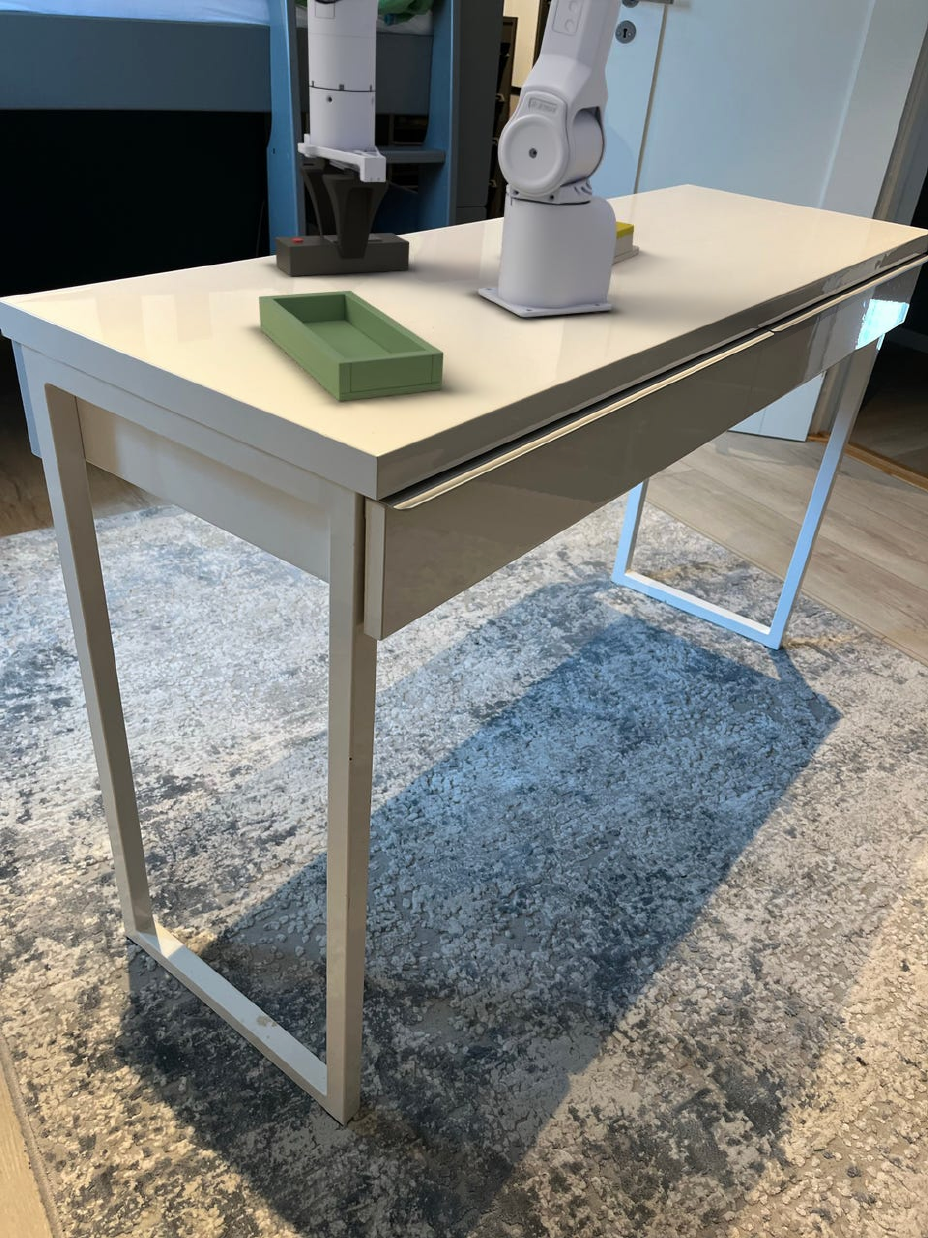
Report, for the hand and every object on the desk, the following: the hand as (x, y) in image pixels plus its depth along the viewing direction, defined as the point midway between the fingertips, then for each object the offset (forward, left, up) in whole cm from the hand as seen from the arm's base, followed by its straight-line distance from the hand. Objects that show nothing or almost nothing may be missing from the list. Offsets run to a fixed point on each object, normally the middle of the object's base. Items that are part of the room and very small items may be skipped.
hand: (343, 252), depth 88 cm
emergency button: (-27, 0, -2) cm, 27 cm away
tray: (+10, +25, -1) cm, 27 cm away
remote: (0, 0, -1) cm, 1 cm away
